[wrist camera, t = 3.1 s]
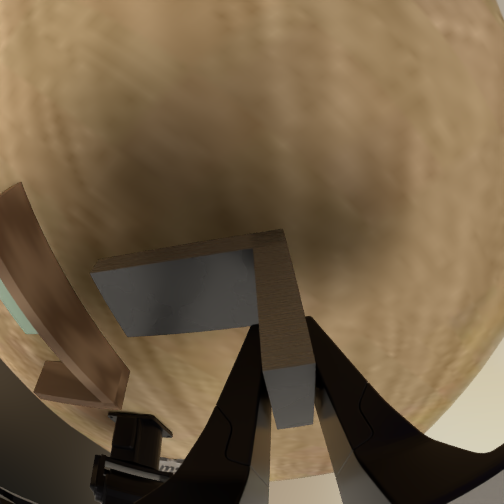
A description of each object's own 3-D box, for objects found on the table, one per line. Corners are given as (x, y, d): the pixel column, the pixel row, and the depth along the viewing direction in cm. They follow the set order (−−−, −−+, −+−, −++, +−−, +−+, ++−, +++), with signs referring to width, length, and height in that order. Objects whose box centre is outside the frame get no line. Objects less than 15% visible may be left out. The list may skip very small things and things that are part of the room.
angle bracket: (282, 229, 11) (315, 363, 6) (290, 303, 13) (313, 424, 8) (98, 259, 11) (40, 372, 6) (132, 322, 14) (103, 427, 9)
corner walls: (130, 371, 22) (121, 410, 19) (52, 367, 23) (40, 398, 19) (21, 181, 12) (-21, 214, 9) (-46, 219, 13) (-75, 247, 10)
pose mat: (70, 331, 19) (69, 333, 19) (27, 331, 20) (25, 333, 19) (6, 224, 14) (4, 226, 13) (-31, 240, 14) (-33, 242, 14)
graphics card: (138, 468, 36) (205, 476, 36) (140, 450, 39) (206, 457, 39) (165, 484, 46) (219, 488, 46) (167, 470, 49) (219, 474, 49)
